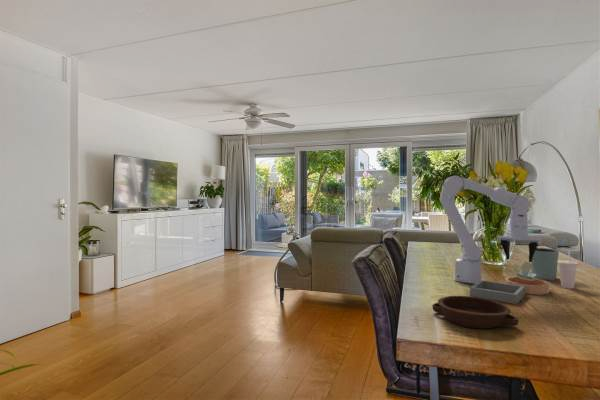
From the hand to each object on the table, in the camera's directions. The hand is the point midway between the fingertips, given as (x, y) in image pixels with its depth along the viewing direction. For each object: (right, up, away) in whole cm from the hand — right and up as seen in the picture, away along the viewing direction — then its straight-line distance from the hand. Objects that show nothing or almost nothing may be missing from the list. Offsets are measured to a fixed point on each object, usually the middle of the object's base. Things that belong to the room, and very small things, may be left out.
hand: (519, 260), depth 135 cm
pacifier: (0, -6, -3) cm, 7 cm away
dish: (-38, -11, -39) cm, 55 cm away
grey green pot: (+17, -9, +10) cm, 22 cm away
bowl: (-2, -10, -7) cm, 12 cm away
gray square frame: (-17, -10, -15) cm, 24 cm away
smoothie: (+15, -10, -5) cm, 19 cm away
